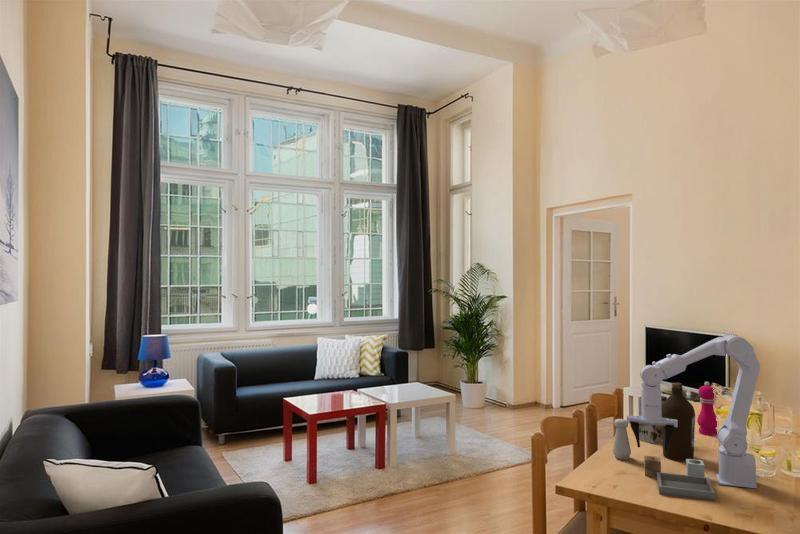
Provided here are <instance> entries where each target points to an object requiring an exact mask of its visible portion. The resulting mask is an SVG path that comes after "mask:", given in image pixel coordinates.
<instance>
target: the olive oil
mask: <svg viewBox="0 0 800 534" xmlns="http://www.w3.org/2000/svg"><path fill="white" fill-rule="evenodd" d="M683 391H684V390H683V383H681V382H672V383H671V395H670V396H669V397H668V396H667V399H666V400H665V401H664V402H663V403H662V406H661V411H662V418H668V419H676V420H677V421H678V427H674V431H673V433H672V435H671V437H670V439H669V442H668V446H667V450H665V449H664V437H665V435H664V426H662V425H661V426H662V441H661V442H662V456H663V457H665V458H667V459H668V460H672V461H677V462H686V459H694V460H695V433H696V432H695V428H696V427H695V425H696V412H695V408H694V406H693V404H692V403H691V402H690V401H689V400H688V399H687V398H686V396H684V394H683V393H684V392H683Z"/></svg>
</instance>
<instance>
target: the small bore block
mask: <svg viewBox="0 0 800 534" xmlns="http://www.w3.org/2000/svg"><path fill="white" fill-rule="evenodd" d="M643 459H644V463H643V464H644V477H649V476H650V477H651V478H657V472H661V473H662V465H661V464H662V462H661V461H662V459H661V457H660V456H653V455H644V458H643Z"/></svg>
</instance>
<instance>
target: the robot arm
mask: <svg viewBox="0 0 800 534" xmlns="http://www.w3.org/2000/svg"><path fill="white" fill-rule="evenodd" d="M713 355H715V356H723V357H726V355H728V356H729V357H731V358H732V360H733V361H734V363H736V365H737V366H738V373H737V376H736V382H735V385H734V387H733V388H734V389H733V393H732V396H731V400H730V405H729V409H728V413H727V417H726V418H724V421H723V423H722V426H721V427H720V428H719V429H718V430H717V435H716V437H717V440H718V442H719V443H720V446H719V447H718V449H717V450H718V452H717V453H718V473H716V474H715V477H716V479H717V481H718V484H719V485H721V486H722V485H723V486H731V487H740V488H747V489H748V488H749V489H757V488H758V487H757V465H756V458H755V455H754V454H752V453H748V452H747V450H748V447H749V445H748V442H747V441H748V440H747V434H748V429H747V422H748V419H749V414H750V410H751V406H752V403H753V399H754V394H755V392H756V391H755V390H756V386H757V384H758V383H757V382H758V379H759V374H760V371H761V364H760V362H759V360H758V357H757V355H756V353H755V348H754V346H753V345H752V344H751V343H750V342H749V341H748V340H747V339H746V338H744V337H741V336H739V335H738V334H735V333H726V334H724V335H723V336H718V337H716V338H713V339H711V340H709V341H706V342H705V343H703V344H701V345H699V346H697V347H695V348H693V349H691V350H689V351H687V352H686V353H683V354H681V355H680V354H676V353H673V354H671V353H668V354H666V355H665V356H666V357H664V358H663V359H660V360H658V361H652V362H651V364H652V365H651V364H647V365H644V366H643V367H642V369H641V370H640V373H639V376H640V378H641V390H640V392H641V393H640V394H641V396H640V397H641V404H642V416H639V415H626V421H627V423H628V424H630V428H631V431H632V432H633V434H634V438H635V440H636V446H637V448H641V443H640V441H641V440H639V424H650V425H662V426H664V435H665V437H664V449H665V450H667V446H668V442H669V439H670V437H671V435H672V433H673V431H674V427H678V421H677V420H676V419H668V418H662V411H661V396H662V390H661V384H662V382H663V380H668V379H670V378H671V377H674V376H677V375H678V374H681V373H682V372H685V371H686V369H687V367H688V365H691V364H693V363H696V362H698V361H700V360H703V359H706V358H708V357H711V356H713Z"/></svg>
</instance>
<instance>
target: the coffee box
mask: <svg viewBox="0 0 800 534" xmlns="http://www.w3.org/2000/svg"><path fill="white" fill-rule="evenodd" d="M667 398H668V396H664V395H661V406H662V403H663V402H664V401H665V400H666V399H667ZM638 416H642V404H641V396H638ZM639 440H640V441H643V442H646V443H650V444H656V443H660V442H662V426H661V425H650V424H639Z"/></svg>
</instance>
